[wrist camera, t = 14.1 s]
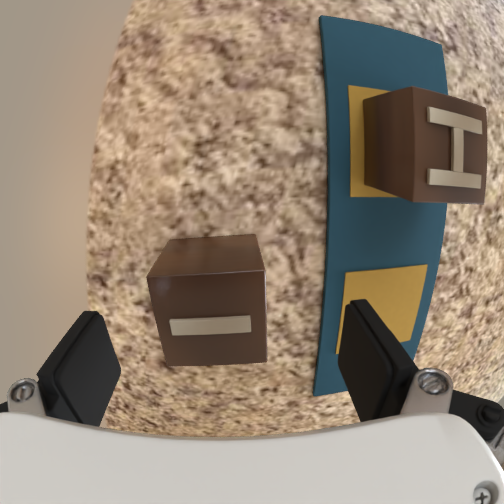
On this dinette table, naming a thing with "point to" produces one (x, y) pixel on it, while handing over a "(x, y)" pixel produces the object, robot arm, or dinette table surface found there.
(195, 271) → the tile
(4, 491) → the robot arm
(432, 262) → the word mat
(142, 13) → the dinette table surface
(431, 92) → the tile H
